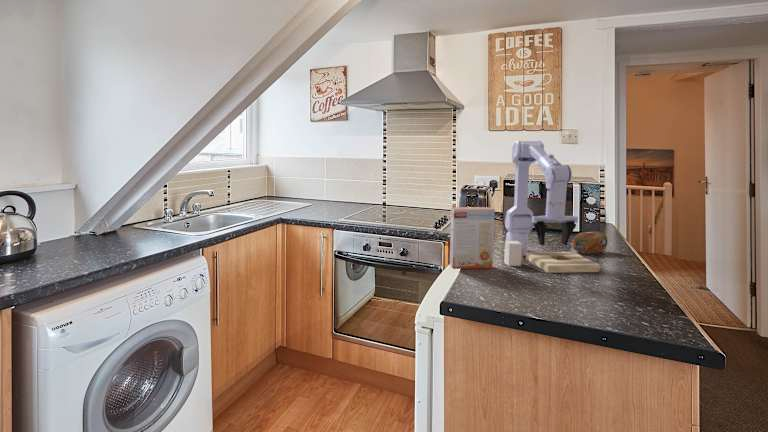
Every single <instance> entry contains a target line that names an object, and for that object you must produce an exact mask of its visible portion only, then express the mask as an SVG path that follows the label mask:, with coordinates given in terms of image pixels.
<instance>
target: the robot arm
mask: <svg viewBox="0 0 768 432" xmlns="http://www.w3.org/2000/svg"><path fill="white" fill-rule="evenodd" d="M544 145H545V144H544V143H543V142H542V141H541V140H537V141H535V140H533V141H530V140H529V141H528V140H523V141H522V140H521V141H520V140H516V141H515V142H514V144H513V146H512V148H511V150H512V151H511V152H512V153H511V162H512V163H513V164H515V166H514V167H515V172H514V199H513V201H514V202H513V206H512V207H511V208H509V209H508V210H506V213H505V214H506V215H505V219H504V226H505V229H506V230H507V233H506V235H505V241H518V242H520V243H522V248H524V250H523V257H524V256H525V257H526V252H528V249H529V248H528V247H529V246H528V243H529V233H530V232H531V231H532V230H533V228H534V229H535V231H536V234H537V239H538V244H539V245H540V246H545V236H546V231H547V227H548V226H547V225H546V224H545V223H553V224H555V223H561V244H562V245H564V246H567V245H568V242H569V239H570V237H571V234H572V233H573V231H574V230H575V229H576V227H577V223H578V221H579V217H578V216H576V215H565V214H566V203H567V202H566V200H567V189H568V188H567V186H568V184H569V182H571V179H572V173H573V172H572V169H571V167H570V166H569V164H562V163H561V162H559V160H557V158H556V157H555V155H553V154H552V153H551V154H550V153H549V154H547V152H546V151H545V147H544ZM536 162H537V166H538V168H539V169H540V171H541V172H542V173H543V174H544V181H545V188H546V189H547V190H546V200H545V201H546V204H545V215H536V216H535V215H534V212H533V211H532V209H530V208H529V207H528V198H529V177H530V176H529V174H530V173H529V171H530V170H529V169H530V166H531V165H532V164H534V163H536ZM502 250H503V252H505V248H503V249H502Z"/></svg>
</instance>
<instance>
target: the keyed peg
mask: <svg viewBox="0 0 768 432" xmlns="http://www.w3.org/2000/svg"><path fill="white" fill-rule="evenodd" d="M504 249H505V251H504V254H503V257H504V259H503V263H504V264H505V265H506V266H507V267H518V266H519V267H520V266H522V265H523V263H524V256H523V250H524V248H522V243H520V242H518V241H506V240H505V241H504Z"/></svg>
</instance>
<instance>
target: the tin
mask: <svg viewBox="0 0 768 432" xmlns="http://www.w3.org/2000/svg"><path fill="white" fill-rule="evenodd" d="M607 245H608V237H607V235H606V234H605V233H604V232H602V231H588V232H579V233H576V234H575V235H574V237H573V238H572V248H573V250H574V251H575V253H578V254H582V255H585V254H597V253H602V252H603V251H604V250H605V249H607Z"/></svg>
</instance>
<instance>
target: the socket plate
mask: <svg viewBox="0 0 768 432" xmlns="http://www.w3.org/2000/svg"><path fill="white" fill-rule="evenodd" d="M525 260H527V261H529V262H530V263H531V264H533V265H535V266H537V267H538V268H540V269H541V270H543V271H545V272H546V273H548V274H549V273H558V274H559V273H599V272H600V269H601V264H599V263H597V262H595V261H593V260H590V259H589V258H586V257H584V256H582V255H580V254H579V253H577V252H573V251H538V252H537V251H536V252H535V251H534V252H533V251H530V252H528V251H527V252H526V256H525Z"/></svg>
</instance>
